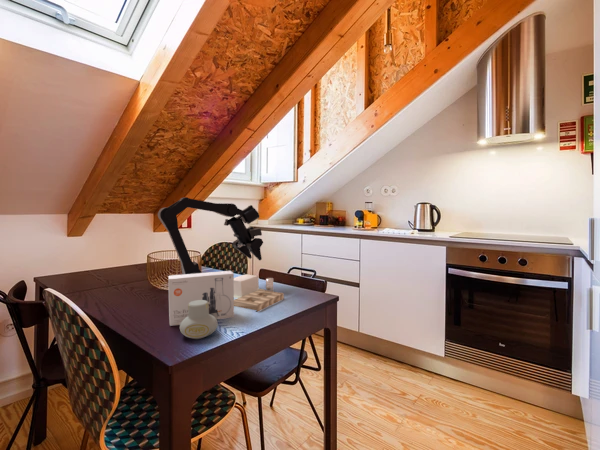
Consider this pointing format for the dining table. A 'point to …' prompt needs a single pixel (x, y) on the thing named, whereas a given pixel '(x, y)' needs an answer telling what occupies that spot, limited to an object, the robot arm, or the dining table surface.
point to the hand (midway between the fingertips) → (255, 259)
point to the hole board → (259, 300)
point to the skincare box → (201, 294)
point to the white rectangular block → (245, 285)
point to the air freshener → (198, 321)
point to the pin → (269, 284)
